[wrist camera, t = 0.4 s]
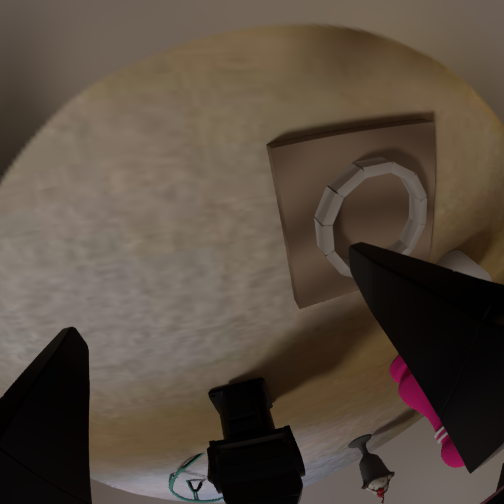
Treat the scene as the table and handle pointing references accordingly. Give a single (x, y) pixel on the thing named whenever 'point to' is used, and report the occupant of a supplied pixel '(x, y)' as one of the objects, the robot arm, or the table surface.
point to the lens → (463, 265)
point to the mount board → (352, 200)
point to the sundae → (372, 469)
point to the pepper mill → (424, 409)
